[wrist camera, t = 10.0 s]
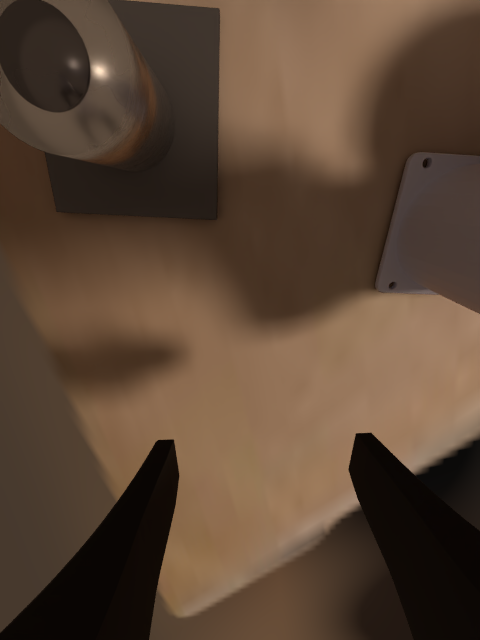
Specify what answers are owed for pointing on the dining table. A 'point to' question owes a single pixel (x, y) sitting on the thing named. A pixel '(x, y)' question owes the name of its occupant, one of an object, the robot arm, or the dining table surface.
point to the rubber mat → (189, 113)
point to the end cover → (80, 85)
